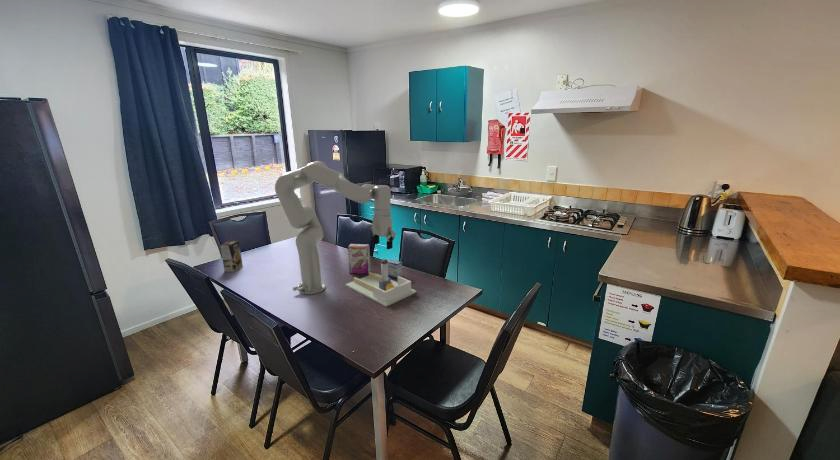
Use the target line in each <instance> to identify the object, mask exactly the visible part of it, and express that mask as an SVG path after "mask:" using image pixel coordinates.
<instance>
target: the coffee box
mask: <svg viewBox="0 0 840 460" xmlns="http://www.w3.org/2000/svg"><path fill="white" fill-rule="evenodd" d="M219 247H220V252H221V260H222V264H223V270H224V272H225V273H226V272H227V273H229V272H233V273H235V272H236V271H238V270H240V269H241V268H242V267H243V259H242V253H241V247H240V240H228V241H225V242H224V243H222V244H221V245H219Z"/></svg>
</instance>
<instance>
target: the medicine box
mask: <svg viewBox="0 0 840 460" xmlns="http://www.w3.org/2000/svg"><path fill="white" fill-rule="evenodd" d="M387 260H388V277H389V278H393V279H397V277H398V276H400V277H403V262H402V261H400V260H398V261H397V260H394V259H387Z"/></svg>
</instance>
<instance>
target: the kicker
mask: <svg viewBox="0 0 840 460" xmlns="http://www.w3.org/2000/svg"><path fill="white" fill-rule="evenodd" d="M388 260H389V259H381V260H380V270H381V274H380V275H381V276H382V280H380V281H379V288H380V289H382V290H386V289H385V287H386V285H387V284H389V283H391V280H392V279H391V278H392V277H388Z"/></svg>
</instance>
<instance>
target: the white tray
mask: <svg viewBox="0 0 840 460" xmlns="http://www.w3.org/2000/svg"><path fill="white" fill-rule="evenodd" d="M396 279H397V281H395V280H392V279H391V284H393V285H394V288H392V289H389V290H387V291H386V290H382V289H380V288H379V281H380V280H382V275H381V274H379V273H377V272H372V271H370V272H369V274H368V275H366V276H364V277H361V278H359V277H356V276H355V277H353V281H351V282H347V283H345V287H347V288H349V289H350V290H352V291H355V292H356V293H359V294H360V295H362V296H364V297H366V298H368V299H370V300H372V301H374V302H376V303H378V304H380V305H381V306H384V307H385V308H387V307H389V306H392V304H396V303H397V302H399V301H401V300H403V299H406V298H408V297H410V296H413V295H414V294H417V290H415V289H413V288H412V281H411V280H410V279H407V278H405V277H403V276H401V277H400V276H398V277H397V278H396Z"/></svg>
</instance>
